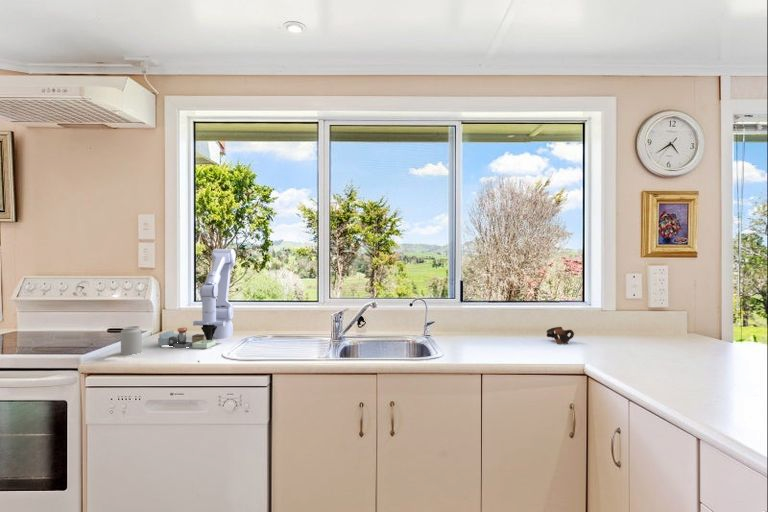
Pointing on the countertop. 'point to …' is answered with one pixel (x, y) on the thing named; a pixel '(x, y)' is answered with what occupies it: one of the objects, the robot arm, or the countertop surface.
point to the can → (131, 340)
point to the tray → (204, 344)
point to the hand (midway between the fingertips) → (209, 341)
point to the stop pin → (182, 335)
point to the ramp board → (187, 345)
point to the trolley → (168, 338)
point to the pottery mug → (560, 335)
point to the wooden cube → (198, 337)
